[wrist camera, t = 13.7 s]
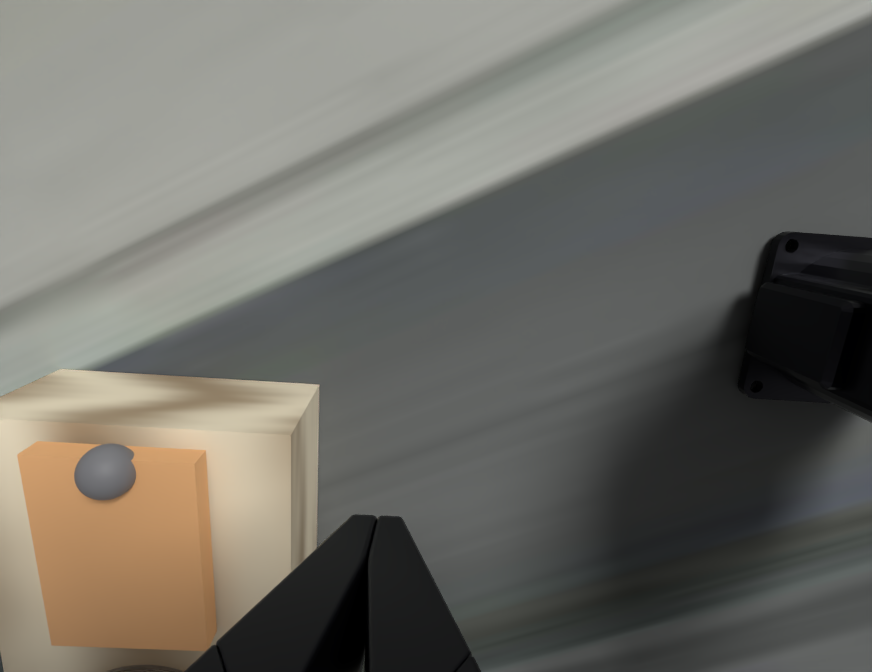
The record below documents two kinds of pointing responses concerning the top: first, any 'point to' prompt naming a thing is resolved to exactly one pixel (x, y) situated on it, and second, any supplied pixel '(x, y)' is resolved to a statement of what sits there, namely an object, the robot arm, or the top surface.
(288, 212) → the top surface
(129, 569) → the orange knobbed panel
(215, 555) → the block
